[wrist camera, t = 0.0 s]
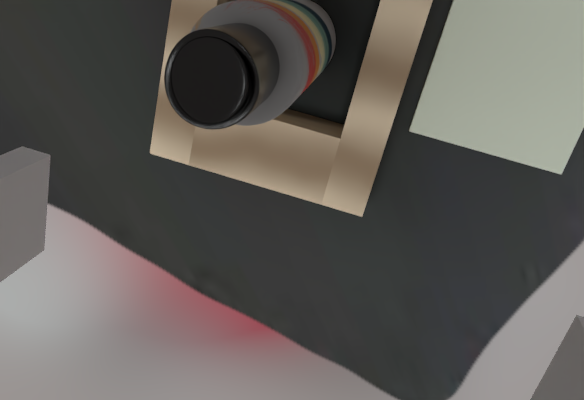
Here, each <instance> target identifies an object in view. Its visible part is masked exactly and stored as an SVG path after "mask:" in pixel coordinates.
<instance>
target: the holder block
mask: <svg viewBox="0 0 584 400" xmlns="http://www.w3.org/2000/svg"><path fill="white" fill-rule="evenodd" d="M230 1H235V0H172V3H171V10H170V17H169V23H168V30H167V37H166V44H165V51H164V58H163V65H162V72H161V79H160V86H159V93H158V99H157V106H156V113H155V120H154V127H153V134H152V141H151V148H150V154H153V155H157V156H160V157H163V158H167V159H170V160H173V161H177V162H180V163H184V164H187V165H190V166H194V167H197V168H200V169H204V170H207V171H210V172H214V173H217V174H220V175H224V176H227V177H230V178H234V179H237V180H240V181H244V182H247V183H250V184H254V185H257V186H260V187H264V188H267V189H271V190H274V191H277V192H281V193H284V194H287V195H291V196H294V197H297V198H301V199H304V200H307V201H311V202H314V203H317V204H321V205H324V206H327V207H331V208H334V209H337V210H341V211H344V212H348V213H351V214H354V215H358V216H361V217H362V216H363V213H364V210H365V207H366V204H367V200H368V197H369V194H370V191H371V188H372V185H373V182H374V179H375V176H376V173H377V170H378V167H379V164H380V161H381V158H382V154H383V151H384V148H385V145H386V142H387V139H388V136H389V133H390V130H391V127H392V124H393V121H394V118H395V115H396V112H397V109H398V105H399V102H400V99H401V96H402V93H403V90H404V87H405V84H406V81H407V78H408V75H409V72H410V69H411V66H412V63H413V59H414V56H415V53H416V50H417V47H418V44H419V41H420V38H421V35H422V32H423V29H424V26H425V23H426V20H427V17H428V13H429V10H430V7H431V4H432V1H433V0H380V4H379V7H378V11H377V14H376V18H375V21H374V25H373V28H372V31H371V35H370V38H369V42H368V45H367V49H366V52H365V56H364V59H363V63H362V66H361V69H360V73H359V76H358V80H357V83H356V87H355V90H354V94H353V97H352V100H351V104H350V107H349V111H348V114H347V118H346V121H345V125H343V124H339V123H336V122H332V121H329V120H325V119H322V118H319V117H315V116H312V115H308V114H305V113H301V112H298V111H294V110H291V109H286V110H285V111H284V112H283V113H282V114H280V115H279V116H277V117H276V118H274V119H272V120H270V121H268V122H265V123H262V124H257V125H250V126H242V125H233V126H230V127H227V128H223V129H204V128H200V127H196V126H194V125H192V124H190V123H188V122H186V121H185V120H184V119H182V118H181V117H180V116H179V115H178V114H177V113H176V112H175V110H174V109H173V108H172V106H171V104H170V102H169V100H168V98H167V94H166V90H165V84H164V74H165V67H166V63H167V60H168V57H169V55H170V53H171V51H172V49H173V48H174V47H175V45H176V44H177V43H178V42H179V41H180V40H181V39H182V38H183V37H184V36H186V35H187V34H189V33H190V32H191V30H192V28H193V27H194V25H195V24H196V23H197V21H198V20H199V19H200V18H201V17H202V16H203V15H204V14H205V13H207V12H208V11H209V10H211V9H212V8H214V7H216V6H218V5H220V4H223V3H226V2H230Z"/></svg>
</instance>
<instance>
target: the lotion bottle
mask: <svg viewBox="0 0 584 400" xmlns="http://www.w3.org/2000/svg"><path fill="white" fill-rule="evenodd" d="M335 44H336V34H335V29H334V25H333V23H332V21H331V19H330V17H329V15H328V14H327V13H326V11H325V10H324V9H323V8H322V7H320V6H319V5H318V4H316V3H315V2H313V1H311V0H235V1H230V2H226V3H223V4H220V5H218V6H216V7H214V8H212V9H211V10H209V11H208V12H207V13H205V14H204V15H203V16H202V17H201V18H200V19H199V20H198V21H197V23H196V24H195V25H194V27H193V28H192V30H191V32H190V33H189V34H187V35H186V36H184V37H183V38H182V39H181V40H180V41H179V42H178V43H177V44H176V45H175V47H174V48H173V49H172V51H171V53H170V55H169V57H168V60H167V63H166V67H165V74H164V84H165V90H166V94H167V98H168V100H169V102H170V104H171V106H172V108H173V109H174V110H175V112H176V113H177V114H178V115H179V116H180V117H181V118H182V119H184V120H185V121H186V122H188V123H190V124H192V125H194V126H196V127H200V128H204V129H223V128H227V127H230V126H233V125H242V126H250V125H257V124H262V123H265V122H268V121H270V120H272V119H274V118H276V117H277V116H279V115H280V114H282V113H283V112H284V111H285V110H286V109H287V108H289V107H290V106H291V104H292V103H293V102H294V101H295V100H296V99H297V98H298V97H299V96H300V95H301V94H302V93H303V92H304V91H305V90H306V89H307V88H308V86H309V85H310V84H311V83H312V82H313V81H314V80H315V79H316V78H317V77H318V76H319V75H320V74H321V73H322V71H323V70H324V69H325V68H326V67H327V65H328V64H329V62H330V60H331V58H332V56H333V53H334V50H335Z"/></svg>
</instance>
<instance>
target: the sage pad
mask: <svg viewBox="0 0 584 400" xmlns="http://www.w3.org/2000/svg"><path fill="white" fill-rule="evenodd" d="M583 128H584V0H453V1H452V4H451V7H450V10H449V13H448V16H447V19H446V22H445V25H444V28H443V31H442V34H441V37H440V39H439V42H438V45H437V48H436V51H435V54H434V57H433V60H432V63H431V66H430V69H429V72H428V75H427V78H426V81H425V84H424V86H423V89H422V92H421V95H420V98H419V101H418V104H417V107H416V110H415V113H414V116H413V119H412V122H411V125H410V128H409V131H410V132H413V133H417V134H420V135H424V136H427V137H431V138H435V139H438V140H442V141H445V142H449V143H452V144H456V145H459V146H463V147H466V148H470V149H473V150H477V151H480V152H484V153H487V154H491V155H494V156H498V157H501V158H505V159H508V160H512V161H515V162H519V163H522V164H526V165H529V166H533V167H536V168H540V169H543V170H547V171H550V172H554V173H558V174H562V172H563V170H564V168H565V166H566V164H567V162H568V160H569V157H570V155H571V153H572V151H573V149H574V147H575V145H576V143H577V141H578V138H579V136H580V134H581V132H582V130H583Z"/></svg>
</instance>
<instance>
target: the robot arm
mask: <svg viewBox="0 0 584 400" xmlns="http://www.w3.org/2000/svg"><path fill="white" fill-rule="evenodd" d="M49 170H50V155H49V154H45V153H42V152H39V151H35V150H32V149H29V148H26V147H20V148H17V149H15V150H12V151H10V152H8V153H5V154H3V155H0V282H1V281H2V280H4V279H5V278H7V277H8V276H9V275H10V274H12V273H13V272H15V271H16V270H17V269H19V268H20V267H22V266H23V265H24V264H25V263H27V262H28V261H30V260H31V259H32V258H34V257H35V256H36V255H38V254H39V253H40V252H42V251H43V250H44V243H45V229H46V214H47V200H48V185H49ZM530 400H584V317H581V316H578V315H577V316H576V317H575V319H574V321H573V323H572V325H571V327H570V328H569V330H568V332H567V334H566V336H565V337H564V339H563V341H562V343H561V345H560V346H559V348H558V351H557V352H556V354H555V356H554V358H553V359H552V361H551V363H550V365H549V367H548V368H547V370H546V372H545V374H544V376H543V378H542V379H541V381H540V383H539V385H538V387H537V389H536V390H535V392H534V394H533V396H532V398H531V399H530Z"/></svg>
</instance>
